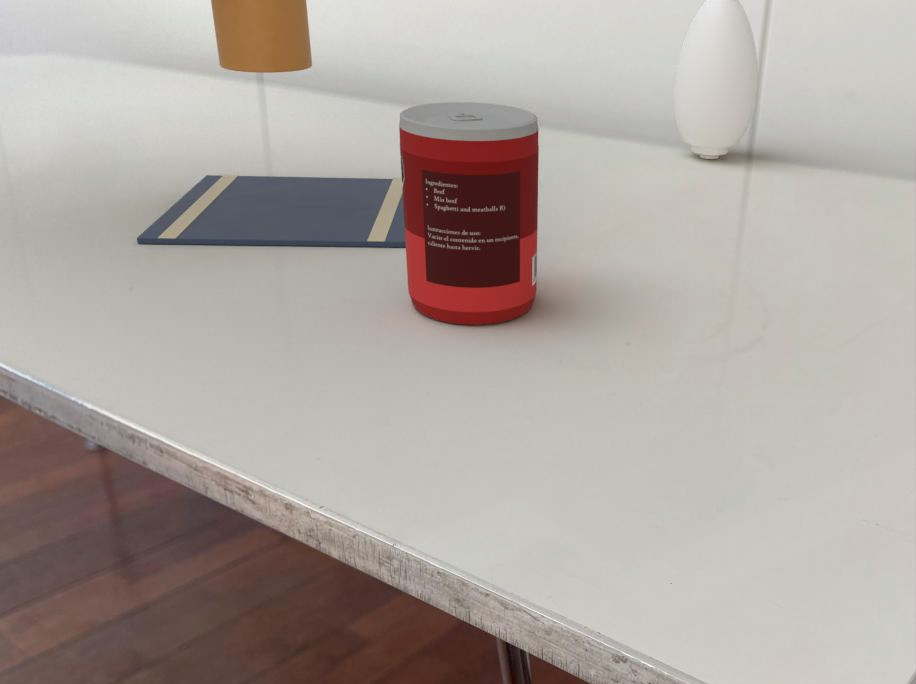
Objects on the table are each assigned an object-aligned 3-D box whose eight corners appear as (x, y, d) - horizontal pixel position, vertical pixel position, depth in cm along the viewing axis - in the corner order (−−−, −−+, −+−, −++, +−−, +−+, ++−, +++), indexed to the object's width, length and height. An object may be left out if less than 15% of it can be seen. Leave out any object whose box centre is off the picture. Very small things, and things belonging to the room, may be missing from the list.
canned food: (483, 273, 65) (480, 97, 60) (564, 308, 60) (568, 119, 55) (382, 297, 60) (369, 108, 55) (460, 337, 55) (454, 133, 50)
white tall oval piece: (765, 161, 98) (788, -42, 90) (706, 169, 94) (725, -43, 86) (711, 145, 104) (728, -47, 95) (653, 153, 100) (666, -48, 91)
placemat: (137, 243, 68) (136, 237, 68) (207, 179, 84) (206, 174, 83) (405, 247, 69) (405, 241, 69) (424, 184, 85) (424, 178, 85)
